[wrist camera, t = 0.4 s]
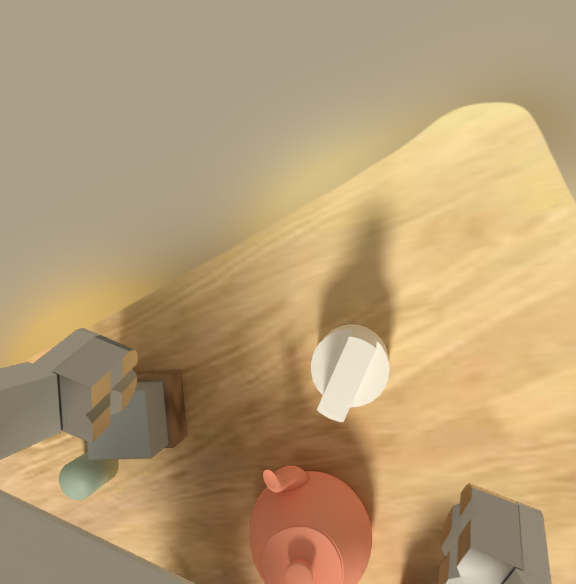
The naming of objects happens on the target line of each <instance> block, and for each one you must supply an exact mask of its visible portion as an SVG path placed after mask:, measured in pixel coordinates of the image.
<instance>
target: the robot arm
mask: <svg viewBox="0 0 576 584" xmlns="http://www.w3.org/2000/svg"><path fill="white" fill-rule="evenodd" d="M137 363H138V352H137V351H135V350H134V349H132V348H129V347H127V346H125V345H122V344H120V343H118V342H115V341H113V340H111V339H108V338H106V337H104V336H101V335H98V334H96V333H93V332H91V331H89V330H86V329H84V328H82V329H78V330H76V331H74V332H73V333H72V334H71V335H69V336H68V337H67V338H65V339H64V340H63V341H62V342H60V343H59V344H58V345H56V346H55V347H54V348H53V349H51V350H50V351H49V352H47V353H46V354H45V355H44V356H42V357H41V358H40V359H38V360H37V361H36V362H35V363H33V364H31V363H29V362H25V363H21V364H17V365H13V366H9V367H6V368H1V369H0V460H1V459H3V458H5V457H7V456H9V455H12V454H14V453H16V452H18V451H21V450H23V449H25V448H27V447H30V446H32V445H34V444H36V443H39V442H41V441H43V440H45V439H48V438H50V437H52V436H54V435H57V434H59V433H61V431H64V432H66V433H69V434H71V435H73V436H76V437H78V438H81V439H83V440H86V441H88V442H91V443H93V442H94V441H95V440H96V439H97V438H98V437H99V436H100V435H101V433H102V432H103V431H104V430H105V429H106V428H107V427H108V426H109V425H110V415H113V414H116V413H119V412H121V411H122V410H123V409H124V408H125V407H126V406H127V405H128V403H129V402H130V400H131V398H132V396H133V394H134V392H135V388H136V385H137V375H136V373H135V372H134V370H133V367H134V366H135V365H136V364H137ZM441 549H442V551H443V553H444V555H445V558H444V560H443V562H442V563H441V565H440V566H439V575H438V584H552V583H551V575H550V567H549V559H548V550H547V542H546V534H545V526H544V518H543V514H542V513H541V511H540V510H537V509H535V508H532V507H530V506H527V505H524V504H522V503H519V502H517V501H516V502H515V501H514V500H512V499H509V498H506V497H504V496H501V495H499V494H496V493H494V492H491V491H488V490H486V489H483V488H481V487H478V486H476V485H473V484H470V483H469V484H467V485H466V486H465V487H464V489H463V491H462V492H461V497H460V504H457V505H454V506H453V507H452V509H451V511H450V512H449V514H448V516H447V519H446V522H445V525H444V528H443V533H442V540H441ZM0 584H195V583H193V582H191V581H189V580H187V579H185V578H183V577H181V576H179V575H177V574H174V573H172V572H170V571H168V570H166V569H164V568H162V567H160V566H158V565H156V564H154V563H152V562H150V561H148V560H145V559H143V558H141V557H139V556H137V555H135V554H133V553H131V552H129V551H127V550H125V549H123V548H121V547H118V546H116V545H114V544H112V543H110V542H108V541H106V540H104V539H102V538H100V537H98V536H96V535H94V534H92V533H89V532H87V531H85V530H83V529H81V528H79V527H77V526H75V525H73V524H71V523H69V522H67V521H65V520H62V519H60V518H58V517H56V516H54V515H52V514H50V513H48V512H46V511H44V510H42V509H40V508H38V507H35V506H33V505H31V504H29V503H27V502H25V501H23V500H21V499H19V498H17V497H15V496H13V495H11V494H8V493H6V492H4V491H2V490H0Z"/></svg>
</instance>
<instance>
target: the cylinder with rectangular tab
mask: <svg viewBox="0 0 576 584" xmlns="http://www.w3.org/2000/svg"><path fill="white" fill-rule="evenodd" d="M311 374H312V378H313V382H314V384H315V385H316V387H317V389H318V391H319V392H320V393H321V394H322V395H323V397H322V399H321V401H320V404H319V406H318V408H317V410H318V411H319V412H320V413H321V414H323V415H324V416H326V417H327V418H329V419H332V420H335V421H338V422H344V419H345V417H346V415H347V413H348V411H349V408H350V407H358V406H363V405H366V404H368V403H370V402H372V401H373V400H375V399H376V398H377V397H378V396H379V395H380V394H381V393H382V391H383V390H384V388H385V386H386V384H387V381H388V378H389V358H388V353H387V349H386V346H385V344H384V343H383V341H382V339H381V338H380V337H379V336H378V335H377V334H376V333H375V332H374V331H372V330H370V329H369V328H367V327H364V326H361V325H356V324H347V325H343V326H339V327H337V328H335V329H333V330H332V331H330V332H329V333H328V334H327V335H326V336H325V337H324V338H323V339H322V341H321V342H320V343H319V345H318V346H317V348H316V349H315V351H314V353H313V357H312V360H311Z"/></svg>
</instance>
